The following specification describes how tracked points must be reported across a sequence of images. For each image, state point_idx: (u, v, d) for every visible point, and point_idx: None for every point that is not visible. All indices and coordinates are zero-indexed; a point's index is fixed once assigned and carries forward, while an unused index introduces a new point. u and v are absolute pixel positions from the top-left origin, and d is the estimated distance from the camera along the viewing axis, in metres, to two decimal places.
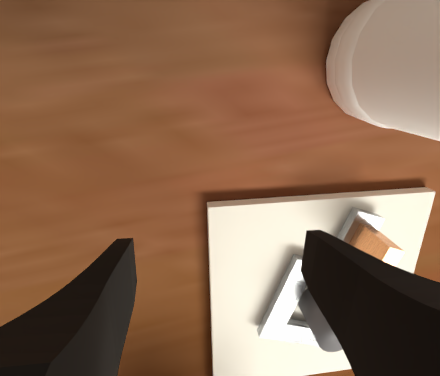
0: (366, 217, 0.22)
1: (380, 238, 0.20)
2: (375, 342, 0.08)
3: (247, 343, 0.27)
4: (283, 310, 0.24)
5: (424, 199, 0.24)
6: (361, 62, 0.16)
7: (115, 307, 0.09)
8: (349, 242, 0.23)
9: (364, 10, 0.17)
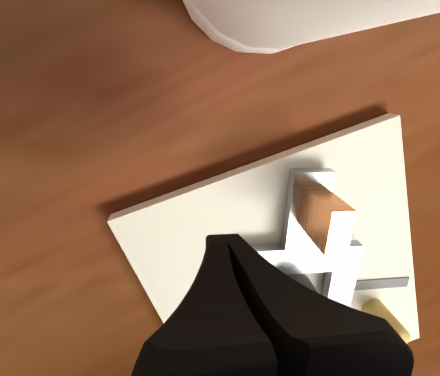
0: (308, 177, 0.17)
1: (323, 201, 0.15)
2: None
3: None
4: None
5: (387, 130, 0.17)
6: None
7: None
8: (299, 213, 0.17)
9: None
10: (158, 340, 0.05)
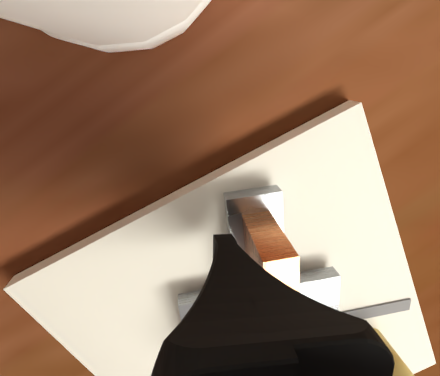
0: (246, 203, 0.12)
1: (258, 241, 0.11)
2: None
3: None
4: None
5: (348, 124, 0.13)
6: None
7: None
8: (244, 249, 0.13)
9: None
10: (178, 338, 0.05)
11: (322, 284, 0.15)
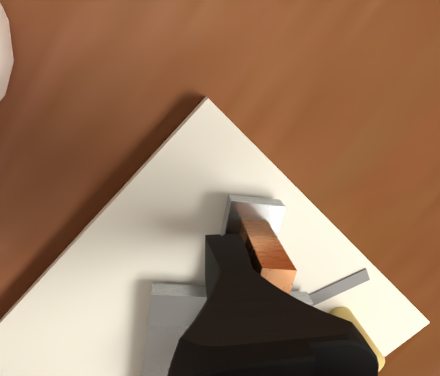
0: (250, 209, 0.13)
1: (258, 248, 0.11)
2: None
3: None
4: (160, 371, 0.15)
5: (205, 124, 0.12)
6: None
7: None
8: None
9: None
10: (194, 337, 0.05)
11: None
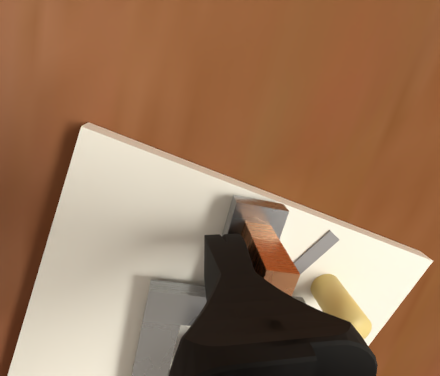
0: (254, 211, 0.13)
1: (261, 250, 0.11)
2: None
3: None
4: (152, 369, 0.15)
5: (91, 151, 0.12)
6: None
7: None
8: None
9: None
10: (195, 336, 0.05)
11: None
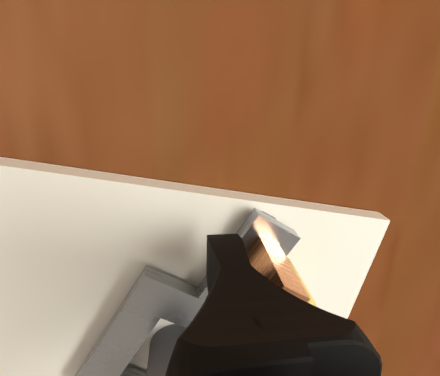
0: (270, 229, 0.13)
1: (277, 266, 0.11)
2: None
3: None
4: (114, 355, 0.15)
5: None
6: None
7: None
8: None
9: None
10: (191, 336, 0.05)
11: None
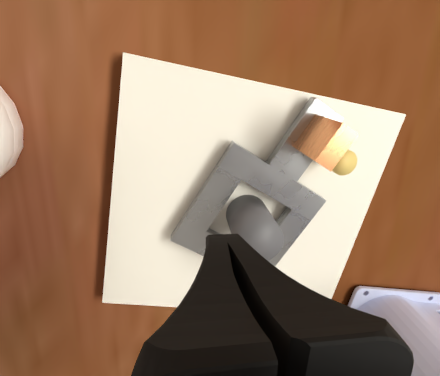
0: (323, 109, 0.19)
1: None
2: None
3: None
4: (206, 210, 0.20)
5: (132, 69, 0.17)
6: None
7: None
8: (298, 137, 0.19)
9: None
10: (159, 340, 0.05)
11: (314, 198, 0.21)
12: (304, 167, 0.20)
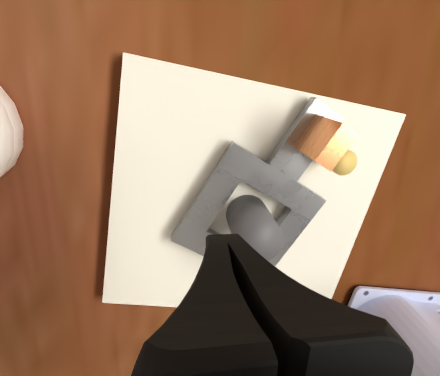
0: (323, 109, 0.19)
1: None
2: None
3: None
4: (206, 210, 0.20)
5: (132, 69, 0.17)
6: None
7: None
8: (298, 137, 0.19)
9: None
10: (159, 340, 0.05)
11: (314, 198, 0.21)
12: (304, 167, 0.20)
